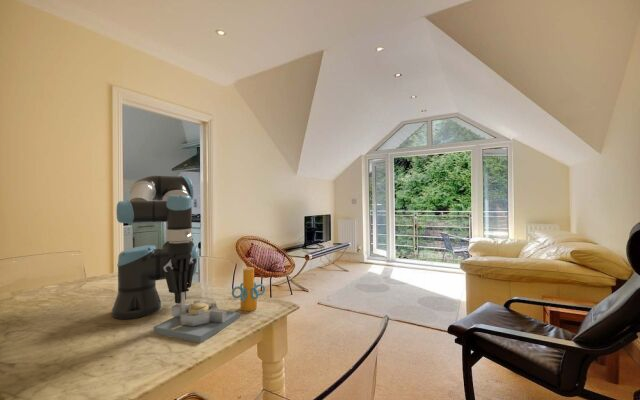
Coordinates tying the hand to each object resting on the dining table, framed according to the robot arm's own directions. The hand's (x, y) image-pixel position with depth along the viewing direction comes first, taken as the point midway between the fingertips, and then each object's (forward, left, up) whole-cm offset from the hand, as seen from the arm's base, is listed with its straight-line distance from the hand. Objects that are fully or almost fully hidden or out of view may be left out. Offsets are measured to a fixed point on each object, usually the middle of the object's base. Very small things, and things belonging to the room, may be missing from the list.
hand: (180, 311), depth 97 cm
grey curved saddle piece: (+8, 0, -1) cm, 8 cm away
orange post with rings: (+15, +18, -4) cm, 23 cm away
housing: (+8, 0, -3) cm, 9 cm away
